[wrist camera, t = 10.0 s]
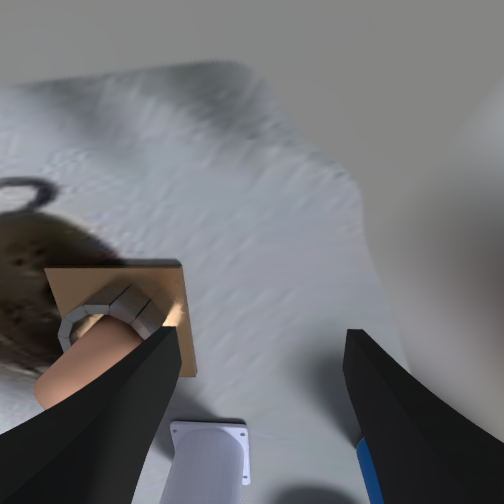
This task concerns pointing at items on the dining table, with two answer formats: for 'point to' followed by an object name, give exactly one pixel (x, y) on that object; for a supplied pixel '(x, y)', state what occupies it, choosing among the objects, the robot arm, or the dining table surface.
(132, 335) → the rail post
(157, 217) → the dining table surface
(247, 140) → the dining table surface
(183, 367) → the cup bracket
